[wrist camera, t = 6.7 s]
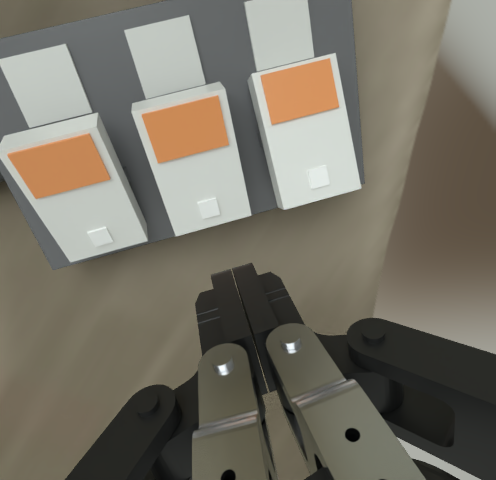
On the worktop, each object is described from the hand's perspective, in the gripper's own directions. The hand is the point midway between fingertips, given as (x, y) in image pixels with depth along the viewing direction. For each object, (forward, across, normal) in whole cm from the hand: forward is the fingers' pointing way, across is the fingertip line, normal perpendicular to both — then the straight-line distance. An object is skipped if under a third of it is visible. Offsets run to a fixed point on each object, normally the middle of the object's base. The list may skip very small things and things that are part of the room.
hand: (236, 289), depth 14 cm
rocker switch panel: (+14, +2, -4) cm, 15 cm away
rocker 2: (+9, -6, -2) cm, 11 cm away
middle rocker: (+9, 0, -2) cm, 9 cm away
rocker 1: (+9, +6, -2) cm, 11 cm away
